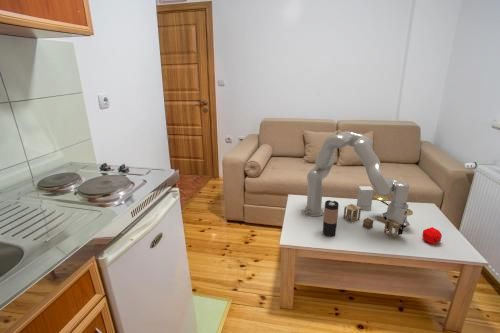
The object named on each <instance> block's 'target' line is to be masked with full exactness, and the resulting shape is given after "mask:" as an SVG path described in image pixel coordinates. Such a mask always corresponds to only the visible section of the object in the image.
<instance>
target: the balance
mask: <svg viewBox="0 0 500 333" xmlns="http://www.w3.org/2000/svg"><path fill="white" fill-rule="evenodd" d="M372 199H374V200H377V201H379V202H380V203H382V204H385V205H386V206H389V204H390V203H387V201H389V196H388V195H386V196H382V195H380V194H378V193H377V194H373V196H372ZM413 214H414V211H413V210H411V209H410V208H409V206H408V207H407V216H412V215H413ZM376 219H377V221H379V222H381V223H383V224H385V223H386V222H385V219H384V217H383V215H382V216H379V217H378V218H376ZM393 228H394V229H395V228H396V225H394V224H393ZM393 228H392V229H393Z"/></svg>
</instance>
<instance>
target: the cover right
mask: <svg viewBox="0 0 500 333" xmlns="http://www.w3.org/2000/svg"><path fill="white" fill-rule="evenodd" d="M403 223H404V222H403ZM387 224H388V228H387ZM393 224H394V225H396V228H394V235H393V238H394V239H396V238H397V237H400V235H401V236H402V235H403V233H402V234H400V235H398V229H399V228H400V227H399V225H400V224H398V223H396V222H393V221H391V220H389V219H387V220H386V223H384V229H383V233H384V234H386V233H387V232H388V236H389V237H391V236H392V234H393V233H392V232H393ZM404 224H405V223H404Z"/></svg>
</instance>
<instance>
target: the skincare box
mask: <svg viewBox="0 0 500 333" xmlns="http://www.w3.org/2000/svg"><path fill="white" fill-rule="evenodd" d="M373 195H374V189H373V187H372V186H371V185H368V186H367V185H365V186H364V185H359V186H358V191H357V200H356V206H358V207H360V208H361V211H371V210H372V204H373V202H372V201H373Z"/></svg>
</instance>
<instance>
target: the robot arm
mask: <svg viewBox="0 0 500 333" xmlns="http://www.w3.org/2000/svg"><path fill="white" fill-rule="evenodd" d="M348 146H350V147H352V148H353V150H354V152H355V153H356V155H357V157H358V158H359V159H360V162H361V163H362V165H363V166H364V168H365V171H366V174H367V177H368V180H369V182H370V184H371V185H372V186H371V187H372V188H374V189H373V190H375V192H376V193H377V194H380V195H382V196H388V195H390V194H391V192H392V194H391V200H390V203H388V204H389V206H388V205H387V206H388V207H387V210H386V211H385V212H382V213H381V215H382V216H383V217H384V219H385V222H386V220H387V219H389V220H391V221H393V222H396V223H398V224H400V225H399V227H400V228H398V232H397V234H398V235H401V234H402V235H403V233H404V229H406V228H408V227H410V226H411V224H410V223H409V221H408V215H407V207H408V208H409V204H408V203H407V200H408V197H409V196H408V195H409V190H410V184H409V183H408V182H406V181H402V180H397V179H393V178H390V177H384V175H383V174H382V171H381V161H380V158H379V157H378V156H377V154H376V153H375V151H374V149H373V141H372V139H371V138H370V137H368V136H365V135H364V134H363V135H362V134H360V133H356V132H354V131H353V132H352V131H349V130H347V131H342V132H340V133H338V134H334V135H332V134H331V135H330V136H329V135H328V136H327V137H325V139H324V141H323V143H322V145H321V147H320V149H319V152H318V153H317V156H316V158H315V160H314V164H315V167H313V168H312V169H310V170H309V171H308V173H307V175H306V178H307V179H306V180H307V195H306V196H307V198H306V199H307V200H306V206H305V208H304V209H301V213H302V214H303V213H304V214H306V215H307V216H309V217H312V218H313V217H320V216H322V215H324V210H323V209H322V200H323V180H325V178H327V177H328V175H329V173H330V171H331V170H332V168H333V166H334V163H335V160H336V157H335V153H336V150H337V149H344V148H346V147H348ZM403 222H404V223H403ZM387 228H388V224H387Z"/></svg>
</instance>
